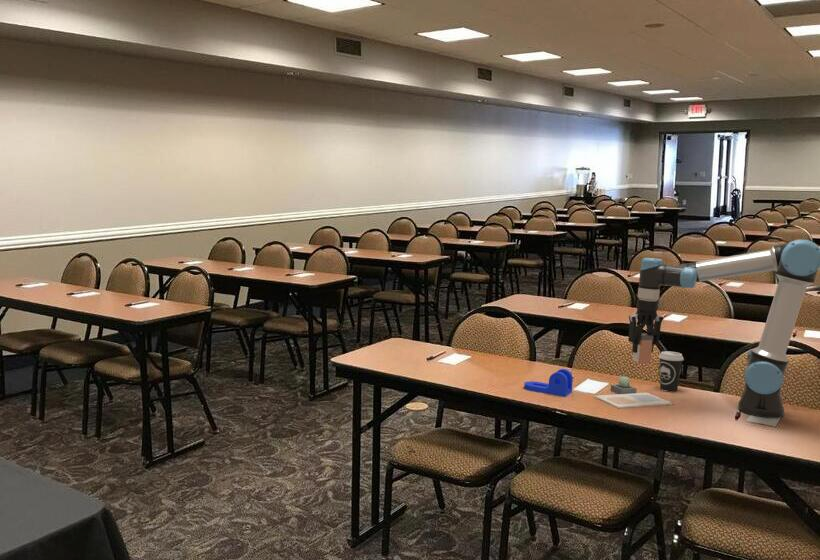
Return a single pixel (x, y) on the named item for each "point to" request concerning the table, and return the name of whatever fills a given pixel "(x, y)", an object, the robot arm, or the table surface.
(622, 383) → the button
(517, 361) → the table surface
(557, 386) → the bracket
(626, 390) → the button housing
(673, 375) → the coffee cup
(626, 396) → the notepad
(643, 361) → the lidded container
